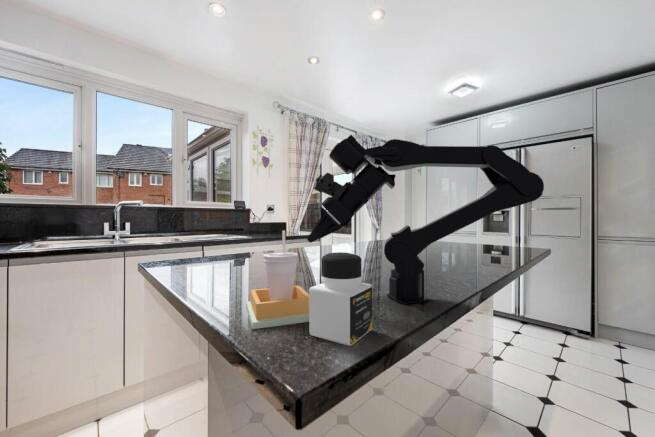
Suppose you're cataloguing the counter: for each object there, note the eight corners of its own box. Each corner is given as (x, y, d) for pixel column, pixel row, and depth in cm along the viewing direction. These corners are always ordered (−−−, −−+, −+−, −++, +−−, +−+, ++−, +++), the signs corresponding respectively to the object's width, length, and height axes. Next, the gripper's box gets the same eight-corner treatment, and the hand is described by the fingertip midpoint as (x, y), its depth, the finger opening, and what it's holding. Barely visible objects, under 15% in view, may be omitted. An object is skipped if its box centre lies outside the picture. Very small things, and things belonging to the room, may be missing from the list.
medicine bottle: (351, 347, 38) (350, 258, 38) (308, 335, 42) (308, 254, 42) (373, 329, 44) (372, 252, 44) (333, 320, 48) (333, 249, 48)
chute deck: (340, 296, 63) (340, 280, 63) (366, 313, 51) (366, 294, 51) (246, 306, 56) (246, 288, 56) (252, 329, 44) (252, 306, 44)
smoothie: (300, 311, 49) (299, 231, 49) (262, 314, 48) (261, 231, 48) (297, 301, 56) (296, 229, 56) (263, 302, 55) (263, 230, 55)
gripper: (337, 170, 72) (294, 214, 73) (333, 153, 53) (275, 213, 54) (369, 201, 71) (325, 245, 72) (375, 195, 53) (316, 254, 53)
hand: (311, 239), depth 63 cm, fingers open, 9 cm apart
